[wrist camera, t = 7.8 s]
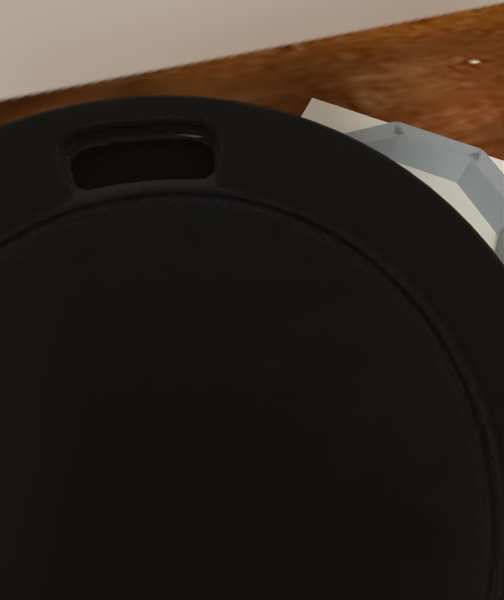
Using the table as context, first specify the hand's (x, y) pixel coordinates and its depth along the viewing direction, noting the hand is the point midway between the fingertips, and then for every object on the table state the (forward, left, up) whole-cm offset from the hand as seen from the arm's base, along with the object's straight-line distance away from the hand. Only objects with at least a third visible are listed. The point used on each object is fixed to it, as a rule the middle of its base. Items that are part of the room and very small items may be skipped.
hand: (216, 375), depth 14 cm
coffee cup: (+1, -3, -6) cm, 7 cm away
